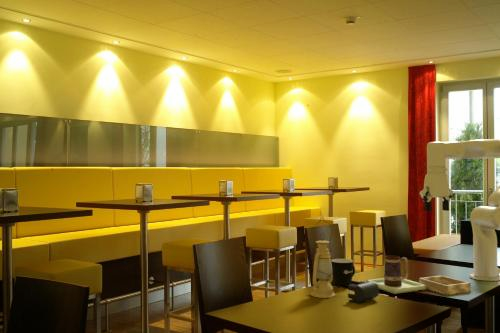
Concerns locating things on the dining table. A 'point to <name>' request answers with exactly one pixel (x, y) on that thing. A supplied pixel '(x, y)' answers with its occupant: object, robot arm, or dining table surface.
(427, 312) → the dining table surface
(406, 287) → the tray
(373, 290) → the end cap
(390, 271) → the mug
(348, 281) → the mug
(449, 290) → the tray
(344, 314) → the dining table surface
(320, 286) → the lantern
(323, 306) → the dining table surface
